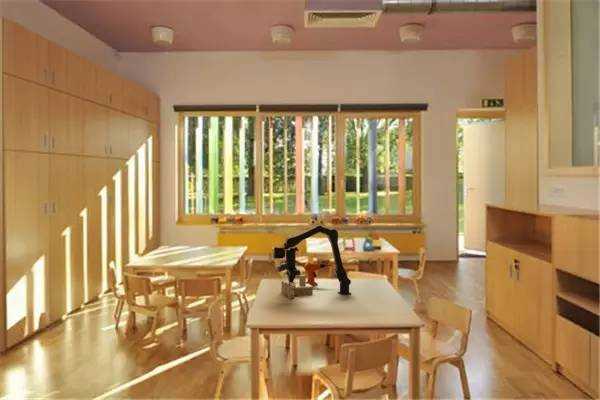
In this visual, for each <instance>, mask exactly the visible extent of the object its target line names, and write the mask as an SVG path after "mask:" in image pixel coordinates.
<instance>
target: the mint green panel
mask: <svg viewBox="0 0 600 400" xmlns="http://www.w3.org/2000/svg"><path fill="white" fill-rule="evenodd" d="M298 277H299V278H298V279H299V280H298V281H299V284H296V288H311V287H313V286H311V285H309V284H306V282H307V281H306V278H307V277H306V275H305V274H300V275H298ZM292 289H294V288H292Z"/></svg>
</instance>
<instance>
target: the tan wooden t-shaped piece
mask: <svg viewBox="0 0 600 400" xmlns="http://www.w3.org/2000/svg"><path fill="white" fill-rule="evenodd" d="M313 289H314V288H313V287H311V288H294V289H292V286H291V285H289V282H286V281H284V280H281V293H282V294H283V295H284V296H286V297H288V298H289V299H291V300H292V299H295V296H303V295H313V291H314V290H313Z"/></svg>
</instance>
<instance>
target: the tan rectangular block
mask: <svg viewBox="0 0 600 400" xmlns="http://www.w3.org/2000/svg"><path fill="white" fill-rule="evenodd" d="M288 284H289V285H291V286H292V288H296V281H295V282H294V281H293V282H289V281H288Z"/></svg>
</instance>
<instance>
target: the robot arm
mask: <svg viewBox="0 0 600 400" xmlns="http://www.w3.org/2000/svg"><path fill="white" fill-rule="evenodd" d="M319 233H321V234H324V235H326V238H327V239H328V241H329V244H330V248H331V251H332V256H333V260H334V264H335V269H333V270H332V271H333V272H334V273H333V274H334V277H335V278H336V280H338V282H339V291H337V293H338V294H340V295H342V296H343V295H344V296H345V295H352V292H350V285H351V284H352V280H351V279H350V278H349V277H348V273H347V272H346V271H347V270H346V269H345V267H344V266H343V265H344V264H343V260H342V256H341V253H340V247H339V243H338V242H339V231H338V230H336V229H334V228H331V227H330V228H326V227H325V226H322V225H320V224H317V225H316V226H314V227H312V228H310V229H307V230H306V231H303V232H302V233H299V234H295V235H291V236H288V237H286V238H285V243H284V244H283V245H282V246H281V247H280V246H279V247H278V246H273V252H272V258H273V260H276V259H277V260H278V259H279V260H283V259H284V258H285V259H284V262H282V263H279V264H277V265H276V266H275V268H276V269H277V272H280V273H281V272H284V271H285V272H284V274H285V275H286V276H287V280H288V283H289V282H294V281H295V279H296V277H297V276H299V275H301V271H300V269H298V268H297V266H296V263H297V262H298V260H296V255H297V254H296V252H299V251H300V249H299V248H298V247H297V246H298V245H299V244H300V243H301V242H302V241H304V240H307V239H309V238H310V237H312V236H314V235H316V234H319Z"/></svg>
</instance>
